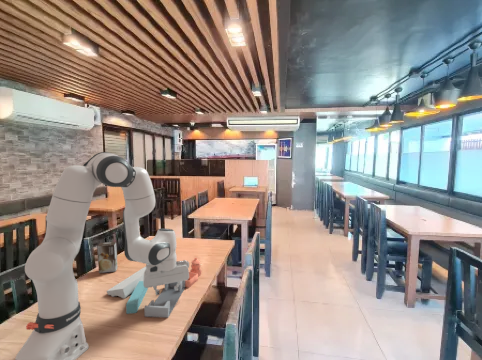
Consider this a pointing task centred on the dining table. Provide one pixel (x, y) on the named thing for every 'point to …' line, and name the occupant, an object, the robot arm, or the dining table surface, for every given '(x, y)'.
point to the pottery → (193, 273)
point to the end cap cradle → (165, 301)
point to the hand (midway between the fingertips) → (167, 292)
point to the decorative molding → (127, 285)
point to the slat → (136, 298)
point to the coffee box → (107, 257)
